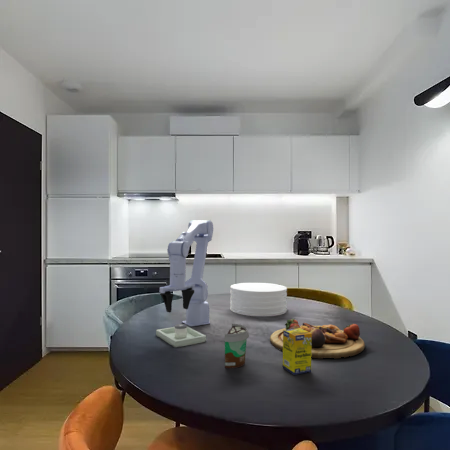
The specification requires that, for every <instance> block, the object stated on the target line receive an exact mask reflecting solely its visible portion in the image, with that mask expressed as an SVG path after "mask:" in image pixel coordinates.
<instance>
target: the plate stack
mask: <svg viewBox="0 0 450 450" xmlns="http://www.w3.org/2000/svg"><path fill="white" fill-rule="evenodd" d="M287 291H288V287H287V286H285V285H282V284H277V283H270V282H240V283H239V282H238V283H235V284H231V285H230V291H229V292H230V297H229V299H230V301H229V303H230V304H229V305H230V306H229V309H230V311H231V312H233V313H234V314H238V315H244V316H249V317H250V316H251V317H274V316H280V315H283V314H285V313H287V312H288V309H287V305H288V303H287V301H288V298H287V297H288V296H287V295H288V292H287Z"/></svg>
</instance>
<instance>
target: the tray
mask: <svg viewBox="0 0 450 450" xmlns="http://www.w3.org/2000/svg"><path fill="white" fill-rule="evenodd" d="M174 331H175V326H173V327H172V326H171V327H166V328H165V327H164V328H160V329H156V331H155V332H156V333H155V335H156V337H158V338H160V339H161V340H162V341H164V342H166V343H168V344H169V345H170V346H172V347H174V348H180V347H181V348H182V347H184V346H190V345H197V344H201V343H206V342H207V335H206V334H203V333H202V332H200V331H197V330H195V329H194V328H191V326H188V325H187V337H186V338H183V339H177V338H175V337H174Z"/></svg>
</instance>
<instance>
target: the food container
mask: <svg viewBox="0 0 450 450" xmlns="http://www.w3.org/2000/svg"><path fill="white" fill-rule="evenodd" d="M249 338H250V334H249V329H248V328H247V326H245V325H242V324H239V323H231V328H229V330H228V331H227V333H224V340H223V341H224V368H225V369H236V368H240V367H243V366H244V365H245V363H246V352H247V342H248V341H247V339H249Z"/></svg>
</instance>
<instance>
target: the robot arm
mask: <svg viewBox="0 0 450 450" xmlns="http://www.w3.org/2000/svg"><path fill="white" fill-rule="evenodd" d="M213 234H214V224H213V221H212V220H211V219H208V220H202V219H201V220H198V219H196V220H193V219H190V221H189V222H188V225H187V230H186V231H182V232H181V234H180V235H179V236H178V237H177V238H176V239H175V240H174V241H173V240H172V241H170V242H169V243H168V246H167V255H168V261H169V285H165V286H160V287H159V293H160V297H161V298H162V300H163V303H164V306H165V311H166V312H167V313H169V314H171V313H172V306H173V305H172V304H173V297H174V293H172V292H178V291H181V298H182V307H183V308H182V309H185V320H183V321H181V322H182V323H181V324H185V325H187V326H188V327H197V326H202V325H210V324H211V321H210V305H209V302H208V301H207V300H208V295H209V293H208V291H209V290H208V289H209V285H208V283H206V281H205V280H204V279H203V278H204V271H205V263H206V257H207V251H208V246H209V242H212V240H213V239H212V238H213ZM194 242H195V243H196V245H195V250H194V251H195V252H194V259H193V262H192V263H193V264H192V270H191V275H190V277H189V278H188V279H187V280H186V278H187V277H186V270H187V269H186V268H187V267H186V263H187V261H186V260H187V258H186V257H188V254H189V250H190V247H191V246H192V244H193V243H194Z"/></svg>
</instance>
